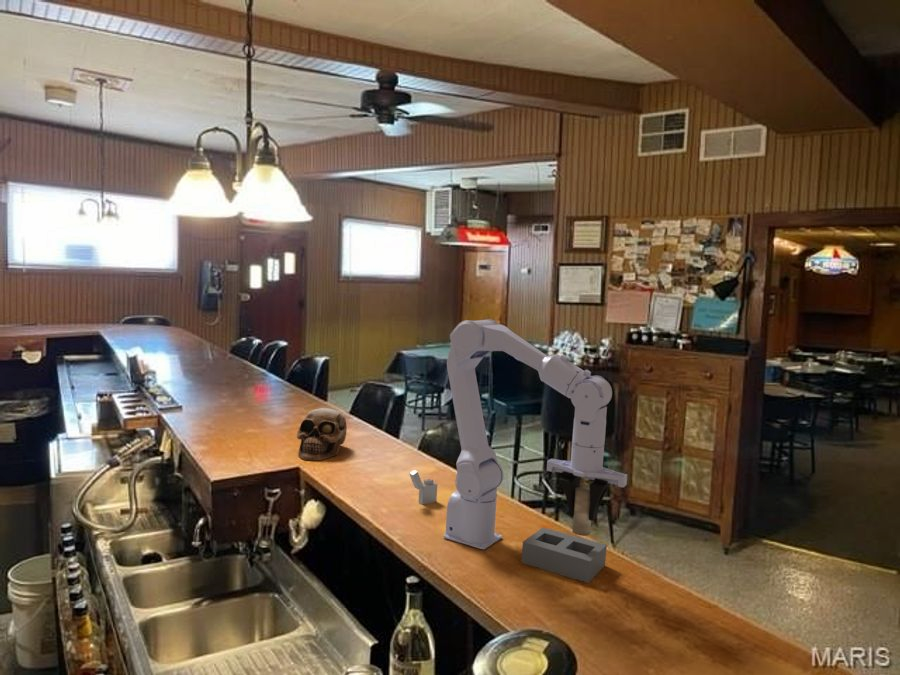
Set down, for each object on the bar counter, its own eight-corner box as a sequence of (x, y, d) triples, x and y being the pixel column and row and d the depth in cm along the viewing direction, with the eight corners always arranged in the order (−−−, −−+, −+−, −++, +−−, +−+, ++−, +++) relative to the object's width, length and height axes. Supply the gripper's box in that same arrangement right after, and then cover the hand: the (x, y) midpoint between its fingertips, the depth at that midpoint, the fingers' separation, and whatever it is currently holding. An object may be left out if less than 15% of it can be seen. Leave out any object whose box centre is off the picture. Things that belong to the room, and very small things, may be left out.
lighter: (432, 499, 152) (434, 466, 151) (436, 501, 151) (438, 468, 150) (407, 504, 148) (409, 470, 147) (411, 507, 146) (413, 472, 145)
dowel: (569, 532, 118) (572, 489, 117) (576, 527, 121) (579, 485, 120) (586, 537, 116) (589, 494, 116) (592, 531, 119) (596, 489, 118)
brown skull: (303, 461, 176) (305, 412, 176) (287, 451, 191) (289, 406, 191) (358, 458, 183) (360, 411, 183) (338, 449, 198) (340, 405, 198)
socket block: (521, 562, 120) (522, 541, 120) (541, 546, 128) (542, 527, 128) (588, 583, 114) (590, 561, 113) (605, 565, 121) (606, 544, 121)
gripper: (542, 440, 117) (537, 513, 119) (620, 456, 110) (614, 533, 111) (557, 433, 123) (552, 502, 125) (632, 447, 116) (626, 521, 117)
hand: (582, 516), depth 118 cm, fingers closed on dowel, 3 cm apart
